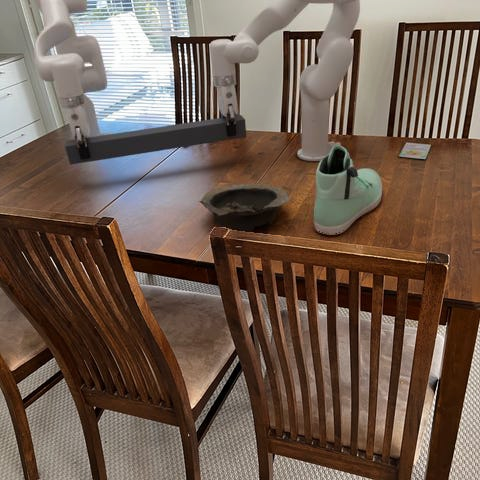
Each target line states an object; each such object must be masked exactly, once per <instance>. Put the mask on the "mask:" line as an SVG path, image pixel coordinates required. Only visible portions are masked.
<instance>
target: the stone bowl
mask: <svg viewBox="0 0 480 480" xmlns="http://www.w3.org/2000/svg"><path fill="white" fill-rule="evenodd" d="M288 201H290V197H289V195H288V194H287V192H286V191H285V190H284V189H282V188H281V187H278V186H273V185H270V184H262V183H241V184H237V183H236V184H229V185H225V186H221V187H218V188H213V189H211V190H209V191H208V192H206V193H205V194H204V195H203V197H202V198H201V200H198V202H199V203H200V204H201V205H202V206H204V208H206V209H207V210H208V211H210V212H211V213H212V216H213V220H214V222H215V223H216V224H218V225H219V227H220V228H221V227H226V228H229V229H232V230H237V231H245V232H249V233H252V232H254V230H255V228H256V227H263V225H271V224H272V223H273V222H274V220H275V216H276V213H277V209H278V208H280V207H281V206H284V205H285V204H287V202H288Z"/></svg>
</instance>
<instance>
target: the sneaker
mask: <svg viewBox="0 0 480 480" xmlns="http://www.w3.org/2000/svg"><path fill="white" fill-rule="evenodd" d="M317 165H318V166H317V168H316V172H315V201H314V207H313V225H314V229H315V231H316V232H318V233H320V234H323V235H326V236H327V235H328V236H336V235H339V234H342V233H344V232H345V231H347V230H348V229H349V228H350V227H351V226H352V225H353V224H354V222H356V221H357V220H358V219H359V218H360V217H362V216H363V215H365V214H367V213H370V212H372V210H374V209H375V208H377V207H378V205H380V203H381V200H382V196H383V184H382V183H383V182H382V179H381V176H380V175H379V173H378V172H377V171H376V170H374V169H372V168H367V167H365V168H358V169H357V168H355V167H354V161H353V159H352V158H351V156H350V153H349V152H348V150H347V148H345V147H344V146H342V145H341V146H334V147H333V148H332V149H331V152H330V154H329V155H327V156H326V157H325V158H324V159H322V160H321V161H319V163H318V164H317ZM343 230H344V231H343ZM319 231H320V232H319ZM322 232H323V233H322ZM339 232H340V233H339ZM326 233H327V234H326ZM328 233H329V234H328ZM335 233H337V234H335Z"/></svg>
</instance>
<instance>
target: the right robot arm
mask: <svg viewBox="0 0 480 480" xmlns="http://www.w3.org/2000/svg"><path fill="white" fill-rule="evenodd" d="M309 4H316V5H317V4H319V5H320V4H324V5H325V4H327V5H328V4H332V11H331V14H330V17H329V19H328V22H327V24H326V26H325V28H324V31H323V33H322V35H321V37H320V39H319V41H318V43H317V46H316V55H317V58H319V61H318V64H317V63H314V64H310V65H308V66H306V67H305V68H304V69H303V70H302V72H301V74H300V77H299V90H300V101H301V105H300V106H301V107H300V108H301V119H300V120H301V148H300V149H298V150H297V154H296V155H297V157H298V158H299V159H300V160H303V161H307V162H320V161H321V160H322V159H324V158H325V157H326V156H327V155H329V154H330V152H331V149H332V148H333V147H334V146H342V144H341V142H335V141H329V129H330V128H329V124H330V121H329V120H330V99H332V97H334V96H335V94H336V93H337V91H338V89H339V88H340V85H341V83H342V82H343V80H344V78H345V76H346V74H347V72H348V71H349V68H350V65H351V63H352V62H353V58H354V46H353V43H352V41H351V40H350V39H351V37H352V35H353V33H354V30H355V28H356V26H357V23H358V20H359V17H360V13H361V12H360V11H361V0H271V1H270V3H269V4H267V5H266V6H265V7H264V8H263V9H262V10H261V11H260V12H259V13H257V15H255V16H254V17H253V18H252V19H251V20H250V21H249V22H248V23H247V24H246V25H245V26H244V27H243V28H242V29H241V30H240V31H239V32H238V33H237V35H236V36H235V37H234V39H233V40H231V39H228V38H220V39H219V38H218V39H215V40H212V41H211V42H210V43H209V52H210V62H211V72H212V73H211V74H212V82H213V86H214V87H215V88H216V91H217V92H216V94H217V105H218V110H219V112H220V113H221V118H224V117H226V122H227V125H226V129H227V136H228V137H230V136H236V124H235V116H237V115H239V107H238V98H237V92H236V91H237V90H236V85H237V74H236V64H251V63H253V62H255V61H256V60H257V58H258V56H259V52H260V50H259V46H260V45H261V44H262V43H263V42H264V41H265V40H266V39H267V38H268V37H269V36H271V35H272V34H274V33H276V32H279V31H281V30H283V29H284V28H287V26H289V25H290V24H291V23H292V22H293V21H294V20H295V19H296V17H298V16H299V15H300V14H301V12H302V11H303V10H304V9H306V8H307V6H308V5H309ZM228 118H230V119H229V120H228Z"/></svg>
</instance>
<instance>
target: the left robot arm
mask: <svg viewBox="0 0 480 480" xmlns="http://www.w3.org/2000/svg"><path fill="white" fill-rule="evenodd" d="M33 1H34V3H35V5H36V7H37V9H38V11H39V13H40V14H41V15H42V16H41V17H42V21H43V27H44V28H43V29H42V30H41V32H40V33H39V34H38V35H37V37H36V40H35V41H34V46H33V55H34V56H33V57H34V61H35V68H36V72H37V74H38V76H39V78H40V79H41V80H42V81H44V82H54V85H55V89H56V93H57V97H58V100H59V105H60V108H61V109H64V110H65V112H66V116H67V120H68V124H69V128H70V131H71V134H72V138H73V140H75V139H76V140H77V145H78V151H79V155H80V159H81V160H83V159H89V158H91V156H90V152H89V148H88V146H87V143H86V138H89V137H96V136H102V135H109V134H112V133H111V132H110V131H108V132H101V130H100V127H99V122H98V118H97V113H96V109H95V105H94V102H93V101H92V99H91V98H89V96H87V95H86V94H87V93H96V92H101V91H105V90H106V89H107V88H108V77H107V73H106V72H107V71H106V69H105V64H104V63H105V62H104V59H103V55H102V50H101V47H100V43H99V41H98V39H97V38H96V37H95V36H93V35H79V36H78V34H77V31H76V27H75V23H74V21H73V19H72V18H71V15H74V14H75V15H76V14H82V13H83V14H84V13H86V12H87V10H88V0H33ZM53 48H55V51H56V54H50V55H47V54H48V52H49V51H51V49H53ZM86 64H91V65H88V66H86ZM83 139H84V141H82V140H83Z"/></svg>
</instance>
